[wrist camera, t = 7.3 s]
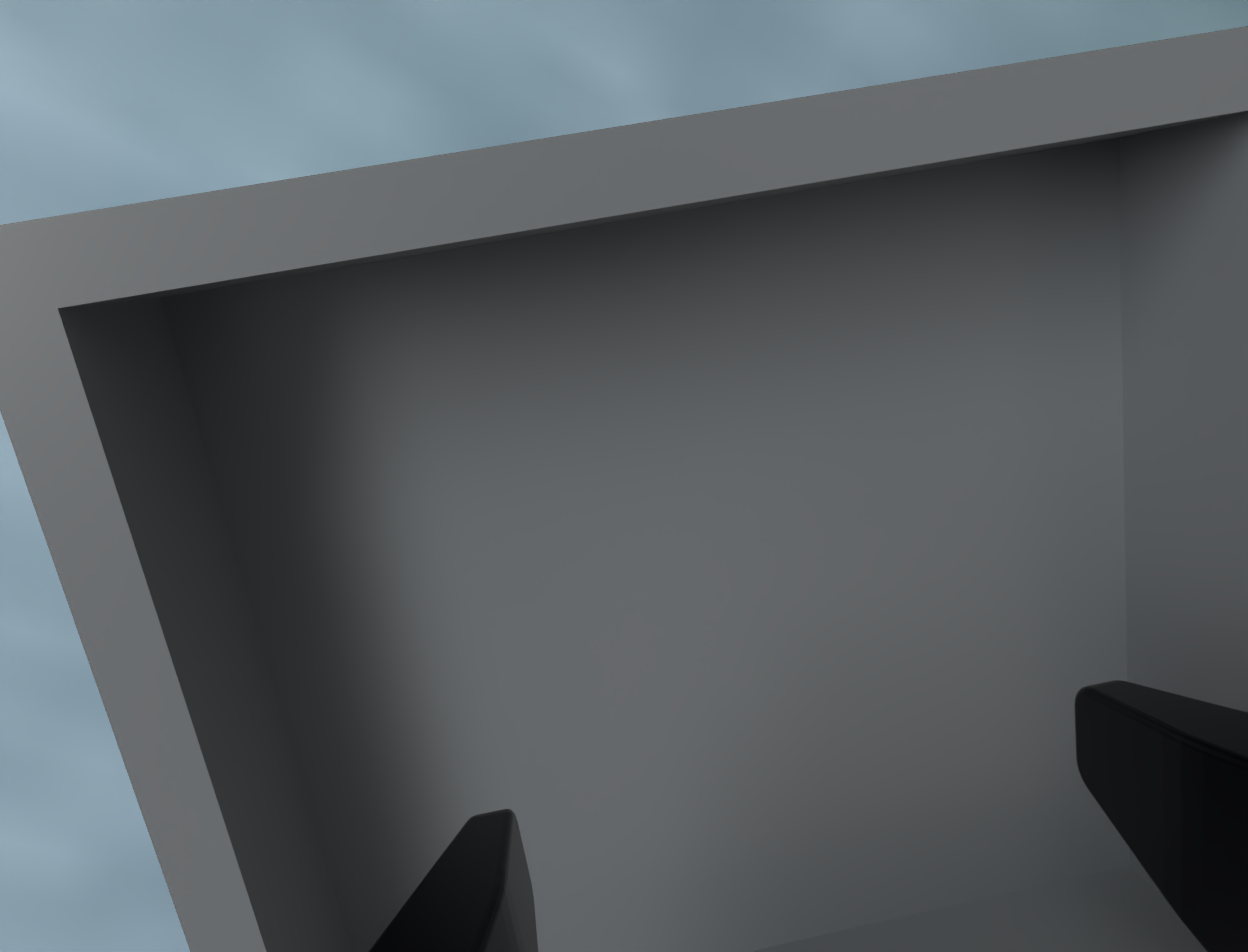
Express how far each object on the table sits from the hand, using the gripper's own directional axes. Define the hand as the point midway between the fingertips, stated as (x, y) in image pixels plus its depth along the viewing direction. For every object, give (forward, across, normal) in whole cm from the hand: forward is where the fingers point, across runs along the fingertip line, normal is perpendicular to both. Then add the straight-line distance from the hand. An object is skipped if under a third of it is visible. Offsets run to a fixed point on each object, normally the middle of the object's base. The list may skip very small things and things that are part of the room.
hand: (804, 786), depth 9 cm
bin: (+4, 0, 0) cm, 4 cm away
